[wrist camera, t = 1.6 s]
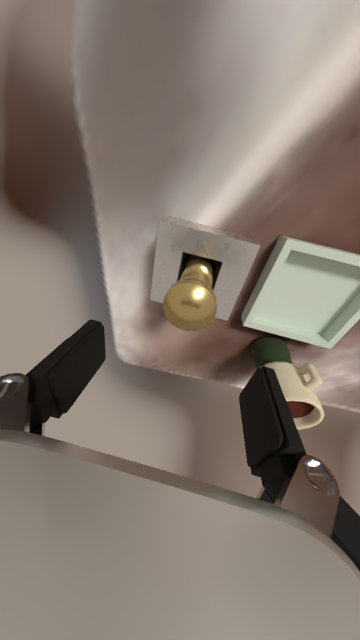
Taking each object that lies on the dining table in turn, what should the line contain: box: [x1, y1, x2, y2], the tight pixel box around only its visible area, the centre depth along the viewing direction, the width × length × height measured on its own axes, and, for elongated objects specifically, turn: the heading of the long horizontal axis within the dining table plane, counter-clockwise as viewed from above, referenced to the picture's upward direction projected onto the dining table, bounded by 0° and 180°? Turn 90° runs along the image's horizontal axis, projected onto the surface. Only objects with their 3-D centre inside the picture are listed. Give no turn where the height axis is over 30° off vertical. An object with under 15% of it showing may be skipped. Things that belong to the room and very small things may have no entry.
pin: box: [163, 254, 217, 331], centre depth 21 cm, size 5×5×14 cm
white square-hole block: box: [150, 217, 261, 321], centre depth 24 cm, size 10×11×6 cm
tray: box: [241, 235, 360, 349], centre depth 25 cm, size 13×14×3 cm
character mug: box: [250, 337, 324, 430], centre depth 27 cm, size 11×7×13 cm, turn 154°
